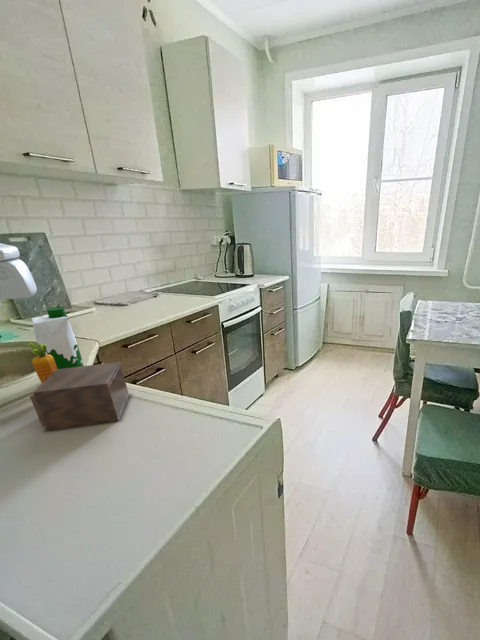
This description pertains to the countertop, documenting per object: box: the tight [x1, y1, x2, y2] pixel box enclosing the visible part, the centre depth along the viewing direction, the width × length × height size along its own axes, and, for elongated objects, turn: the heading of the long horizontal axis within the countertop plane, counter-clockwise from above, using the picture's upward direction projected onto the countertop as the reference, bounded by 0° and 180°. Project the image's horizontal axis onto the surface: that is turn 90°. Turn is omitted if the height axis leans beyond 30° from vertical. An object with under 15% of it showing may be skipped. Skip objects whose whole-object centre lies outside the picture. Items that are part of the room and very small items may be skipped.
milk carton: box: [31, 306, 84, 369], centre depth 100 cm, size 9×9×20 cm
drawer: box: [29, 392, 47, 428], centre depth 82 cm, size 15×11×8 cm
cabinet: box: [32, 361, 130, 432], centre depth 82 cm, size 15×13×10 cm
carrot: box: [28, 342, 57, 384], centre depth 90 cm, size 5×5×15 cm
